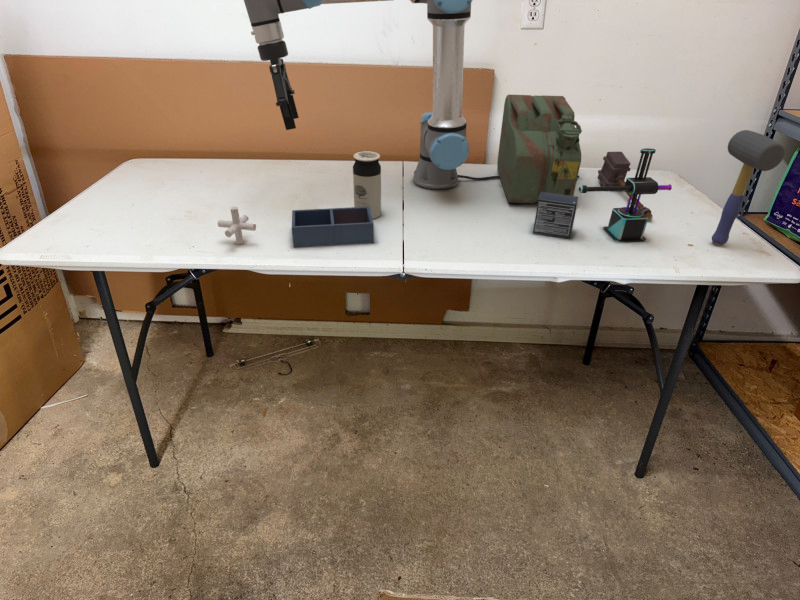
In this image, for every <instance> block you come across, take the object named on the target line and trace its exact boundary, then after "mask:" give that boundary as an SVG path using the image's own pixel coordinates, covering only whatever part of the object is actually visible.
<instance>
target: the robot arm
mask: <svg viewBox="0 0 800 600" xmlns="http://www.w3.org/2000/svg"><path fill="white" fill-rule="evenodd" d="M390 1H393V0H243V2H244V3H243V4H244V6H245V9H246V12H247V17H248V19H249V22H250V26H251V29H252V31H250V34H251V36H254V40H255V43H257V44H258V46H257V51H258V54H259V58H260V60H261V61H262V62H267V61H268V62H270V65H268V67H269V72H270V74H271V80H272V82H273V87H274V94H275V97H276V102H275V106H276V107H279V110H280V113H281V117H282V120H283V124H284V128H285V130H286V131H289V130H294V129H297V127H296V121H295V120H296V119H299V113H298V109H297V106H296V102H295V99H294V95H295V93H296V92H295V90H294V89H293V88H292V86H291V83H290V79H289V76H288V72H287V68H286V64H285V63H284V59H283V58H285V57H287V56H289V50H288V47H287V43H286V41H285V40H283V39H284V38H285V34H284V31H283V27H282V22H281V21H280V17H279V15H280V14H285V13H290V12H295V11H301V10H306V9H309V10H310V9H313V8H316V7H320V6H321V5H331V4H332V5H333V4H350V3H351V4H352V3H369V2H370V3H371V2H372V3H373V2H390ZM409 2H410V3H411V4H426V15H427V16H426V17H427V18H426V19H427V21H428V22H429V23H431V25H432V111H428V112H425V113H424V112H423V114H421V117H420V124H419V125H420V139H419V140H420V141H419V160H418V162H417V164H416V168H415V170H414V171H413V183H414V184H415V185H416V186H418V187H420V188H423V189H428V190H447V189H452V188H454V187H456V186H457V185H458V183H459V178H461V179H467V180H471V181H484V180H485V181H486V180H493V179H500V176H499V175H491V176H482V177H474V176H469V175H462V174H458V171H457V169H458V168H459V167H461V166H462V165H463V164H464V163H465V162H466V161H467V159H468V156H469V153H470V146H469V145H470V144H469V142H468V139H467V123H468V122H467V120H466V119H465V118H464V116H463V114H462V113H463V85H464V83H463V82H464V59H465V58H464V57H465V55H464V54H465V27H466V24H467V23H468V22H469V21H470V19H471V16H472V15H471V14H472V3H473V0H409ZM579 178H580V175H579V174H578V177H577V179H579Z"/></svg>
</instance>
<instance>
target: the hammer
mask: <svg viewBox="0 0 800 600" xmlns="http://www.w3.org/2000/svg"><path fill="white" fill-rule="evenodd" d="M602 160H603V165H602V167H601V169H598V170H597V173H598V175H597V180H598V182H599V183H600V186H601V187H602V186H625V183H626V180H625V179H626V178H627V177H626V176H627V173H628V172H630V171H631V167H630V166H631V162H630V161H629V159H628V158H627V157H626V155H625V154H624V153H623V151H607V153H606V154H605V155H604V156H603V158H602ZM624 192H625V194H626V195H627V196H628V198H629V197H630V194H629V193H628V192H627V191H624ZM632 198H633V195H632ZM632 198H631V201H632ZM637 199H638V198H637ZM637 199H636V202H637ZM635 206H636V203H635ZM637 208H638V209H639V210H640V211H642V212H643V214H645V215H646V216H647V217H648V221H651V220H652V219H653V217H654V216H653V213H652V211H651V209H650V208H649V207H647V206H644V205H643V204H642V202H641V201H640V200H639V203H638V207H637Z"/></svg>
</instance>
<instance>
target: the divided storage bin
mask: <svg viewBox="0 0 800 600" xmlns="http://www.w3.org/2000/svg"><path fill="white" fill-rule="evenodd" d="M374 224H375V223H374V220H373V219H372V216H371V212H370V208H369V207H354V206H353V207H351V206H349V207H331V208H311V209H308V208H307V209H292V210H291V236H292V244H293V248H306V247H307V248H309V247H322V246H323V247H324V246H339V245H341V246H342V245H358V244H374V242H375V237H374V235H375V234H374V233H375V232H374V229H375V228H374Z"/></svg>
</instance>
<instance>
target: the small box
mask: <svg viewBox="0 0 800 600" xmlns="http://www.w3.org/2000/svg"><path fill="white" fill-rule="evenodd" d="M578 201H579V196H578V195H573V196H570V195H562V194H555V193H547V192H540V195H539V198H538V202H537V205H536V211H535V216H534V223H533V228H532V231H531V232H532V234H534V235H535V234H536V235H543V236H549V237H556V238H563V239H568V240H570V239H571V237H572V232H573V227H574V222H575V217H576V212H577V208H578V203H579V202H578Z"/></svg>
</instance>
